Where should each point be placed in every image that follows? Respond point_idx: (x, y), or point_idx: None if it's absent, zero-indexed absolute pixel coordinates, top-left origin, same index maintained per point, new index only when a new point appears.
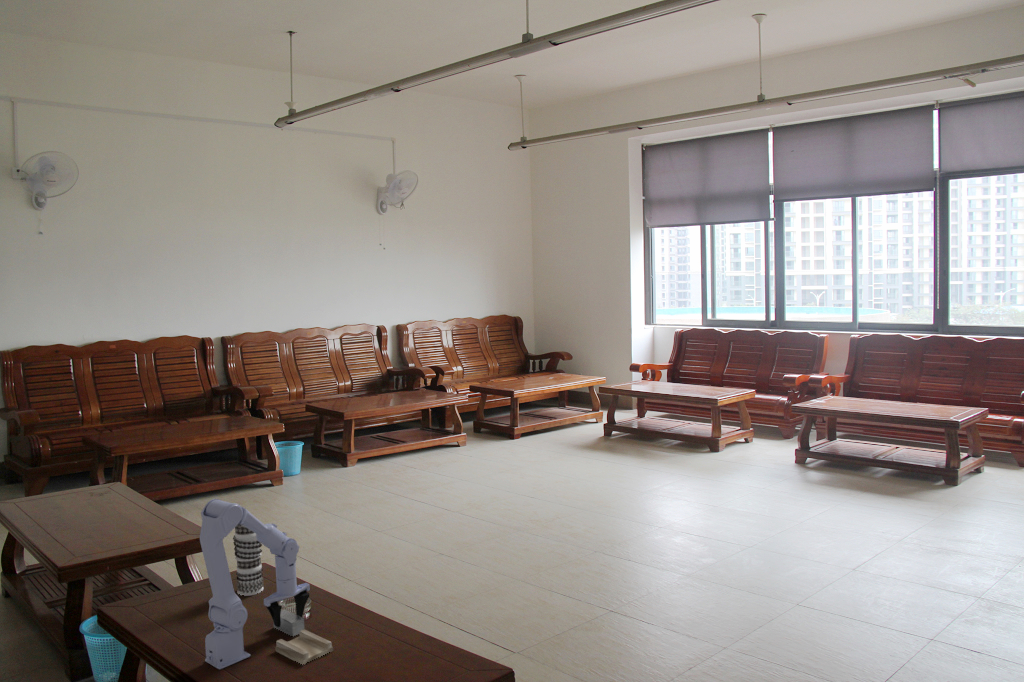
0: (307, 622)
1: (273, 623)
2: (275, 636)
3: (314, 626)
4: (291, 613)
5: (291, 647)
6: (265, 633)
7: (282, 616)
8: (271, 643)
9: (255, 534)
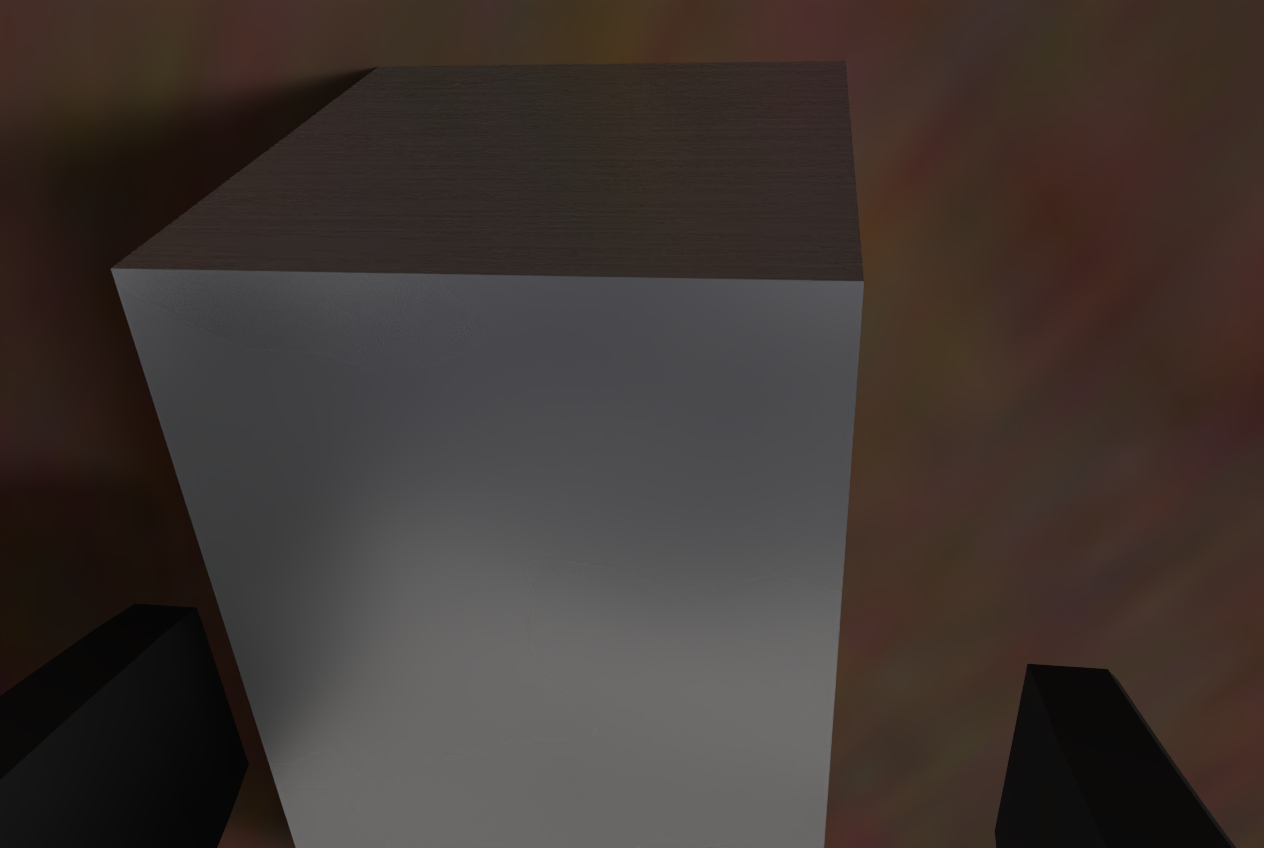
0: (1260, 577)
1: (322, 114)
2: None
3: None
4: (765, 841)
5: None
6: (51, 211)
7: (368, 770)
8: None
9: None
